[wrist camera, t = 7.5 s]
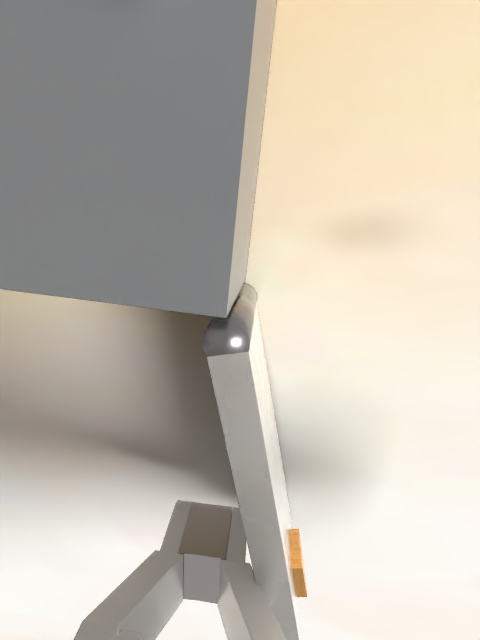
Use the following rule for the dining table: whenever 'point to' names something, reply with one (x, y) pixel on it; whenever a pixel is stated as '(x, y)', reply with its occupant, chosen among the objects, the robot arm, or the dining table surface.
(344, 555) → the dining table surface
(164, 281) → the camera body
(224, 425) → the side door
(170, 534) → the robot arm
